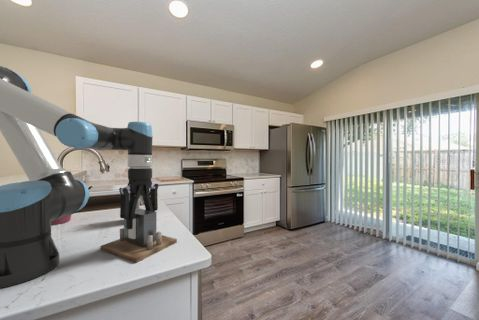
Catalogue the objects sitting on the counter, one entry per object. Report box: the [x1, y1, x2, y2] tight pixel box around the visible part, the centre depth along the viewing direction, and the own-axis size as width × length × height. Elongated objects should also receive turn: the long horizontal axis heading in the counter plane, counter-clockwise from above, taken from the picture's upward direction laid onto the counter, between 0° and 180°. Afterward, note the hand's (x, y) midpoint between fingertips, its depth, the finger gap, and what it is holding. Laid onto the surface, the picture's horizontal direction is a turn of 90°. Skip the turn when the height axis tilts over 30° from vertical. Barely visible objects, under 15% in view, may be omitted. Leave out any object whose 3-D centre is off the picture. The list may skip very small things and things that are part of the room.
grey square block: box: [123, 208, 157, 246], centre depth 70 cm, size 5×10×10 cm, turn 63°
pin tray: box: [99, 227, 178, 264], centre depth 70 cm, size 16×18×5 cm
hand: (140, 234), depth 70 cm, fingers open, 5 cm apart
